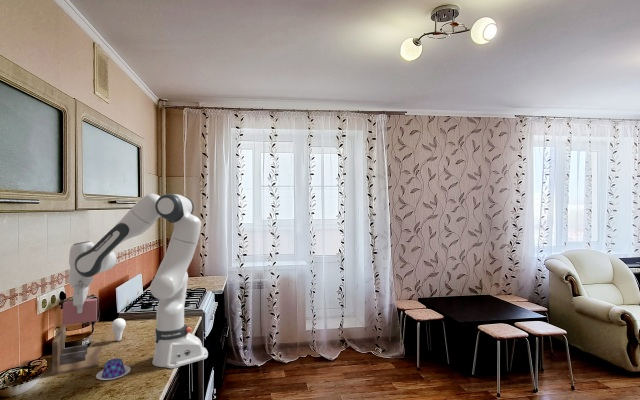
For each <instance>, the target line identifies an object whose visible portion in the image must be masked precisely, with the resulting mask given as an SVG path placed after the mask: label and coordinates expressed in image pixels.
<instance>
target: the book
mask: <svg viewBox="0 0 640 400" xmlns="http://www.w3.org/2000/svg"><path fill="white" fill-rule="evenodd" d="M97 319H98V297H96V298H86V299H85V302H84V304H83V311H82V313H77V306H73V300H66V301H65V300H64V301H63V303H62V326H64V325H66V326H67V325H68V326H69V325H75V324H83V323H90V322H91V323H92V322H97Z"/></svg>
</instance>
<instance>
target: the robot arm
mask: <svg viewBox="0 0 640 400" xmlns="http://www.w3.org/2000/svg"><path fill="white" fill-rule="evenodd" d="M194 210H195V206H194V202H193V201H192V199H190V198H189V197H188V196H185V195H182V194H177V193H165V194H162V195H158V194H156V193H147V194H146V195H145V196H144V197H142V198H141V199H139V200H138V201H137V202H136V203H135V204H134V205H133V206H132V207H131V208H130V209H129V211H127V213H126V214H125V215H124V216H123V217H122V218H121V219H120V220H119V221H118V222H117V223H116V224H115V225H114V226H113V228H111V229H110V230H109V231H108V232H107V233H106V234H104V235H103V237H102V238H101V239H99V240H98V242H96V243H95V244H94V242H92V241H89V240H87V241H83V242H81V241H80V242H75V243H73V244H72V245H71V247H70V249H69V255H68V256H69V257H68V264H69V265H68V266H69V271H68V285H71V288H72V289H73V290H72V291H73V293H72V301H73V306H77V313H82V311H83V304H84V302H85V299H87V297H88V294H89V290H90V286H91V285H90V284H92V283H93V282H94V276H96V275H98V274H100V273H103V272H106V271H108V270H109V271H110V270H111V269H113V268H114V267H115V266H116V264H117V261H118V257H117V254H116V252H115V251H114V250H115V249H116V248H117V247H118V246H119V245H120V244H122V243H123V242H125V241H127V240H129V239H131V238H134V237H138V236H140V235H142V234H144V233H145V232H147V230H149V229H150V228H151V227H152V226H153V225H154V223H155V222H156V221H157V220H158V219H160V218H162V219H165V220H166V221H167V222H169V223H170V224H173V225H174V227H173V230H172V235H171V238H170V239H169V243H168V247H167V248H166V251H165V255H164V257H163V258H162V261H161V262H160V264H159V266H158V269H157V271H156V274H155V276H154V277H153V279H152V281H151V283H150V286H149V290H150V293H151V295H152V296H153V297H154V298H155V299H158V300H159V301H158V304H157V308H156V328H155V332H154V341H155V350H154V355H153V359H152V361H151V363H152V365H153V366H155V367H159V368H168V369H175V368H179V367H181V366H185V365H188V364H193V363H195V362H199V361H202V360H206V359H207V358H208V356H209V352H208V350H207V348H206V347H204V346H203V343H202V340H201V339H200V338H199V337H197V336H196V335H194V334H193V333H191V332H192V328H191V326H189V325H188V324H187V323H186V324H185V303H186V297H187V296H186V295H187V289H188V280H189V274H188V272H187V271H188V268H189V266H190V265H191V262H192V260H193V257H194V255H195V252H196V249H197V245H198V242H199V239H200V235H201V229H202V221H201V219H200V218H199V217H197V216H196V215H193V213H194Z"/></svg>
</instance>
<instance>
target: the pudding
mask: <svg viewBox="0 0 640 400" xmlns="http://www.w3.org/2000/svg"><path fill="white" fill-rule="evenodd" d="M131 370H132V368H131V367H130V366H129V365H124V362H123V359H122V358H118V357H117V358H112V359H109V360H107V361H106V362H105V364H104V367H103V369H102V370H100V371H99V372H97V373H96V375H95V378H96V379H98V380H100V381H106V380H107V381H108V380H115V379H118V378H121V377H124V376H126V375H127V374H129V373H130V371H131Z"/></svg>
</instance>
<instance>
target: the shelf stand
mask: <svg viewBox="0 0 640 400" xmlns="http://www.w3.org/2000/svg"><path fill="white" fill-rule="evenodd" d="M66 328H67V325H61V326H60V328H59V329H58V332H57V334H56V335H55V336H54V339H53V341H52V342H51V343H52V346H51V347H52V352H51V353H52V355H51V357H52V358H51V359H52V360H51V362H52V365H51V367H52V368H51V371H50V373H49V376H50V377H52V376H57V375H62V374H67V373H72V372H77V371H83V370H88V369H93V368H98V367H99V364H100V357H101V352H102V345H99V346H98V345H97V346H92V347H88V344H83V345H81V344H80V345H75V346H70V347H69V346H68V347H66V348H65V341H66V339H67V337H66V333H67V332H66V331H67V330H66Z"/></svg>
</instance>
